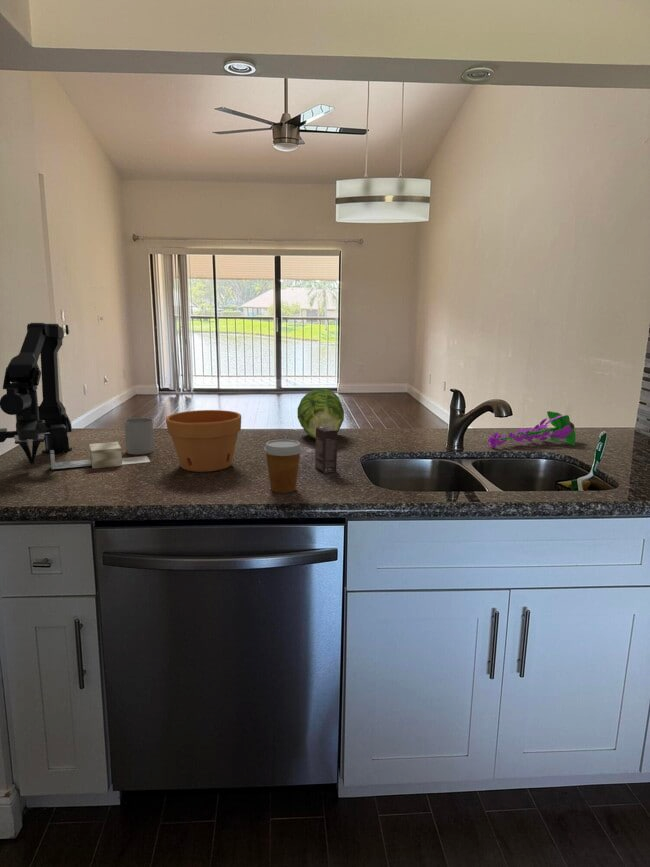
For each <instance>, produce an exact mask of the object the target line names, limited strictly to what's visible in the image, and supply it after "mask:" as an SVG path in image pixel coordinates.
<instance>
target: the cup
mask: <svg viewBox="0 0 650 867" xmlns="http://www.w3.org/2000/svg"><path fill="white" fill-rule="evenodd" d="M153 423H154V420H153V418H150V417H133V418H132V417H131V418H128V419H125V421H124V429H125V431H124V432H125V448H126V454H129V455H146V454H151V453H153V452H155V441H154V424H153Z"/></svg>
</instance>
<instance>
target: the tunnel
mask: <svg viewBox="0 0 650 867" xmlns="http://www.w3.org/2000/svg"><path fill="white" fill-rule="evenodd" d="M88 447H89V460H90V459H92V466H91V468H92V469H101V468H102V469H103V468H112V467H121V466H122V467H123V465H122V458H123V457H122V456H123V455H122V447H121V445H120V443H119V442H118V441H111V442H109V441H108V442H99V443H98V442H96V443H89V444H88Z"/></svg>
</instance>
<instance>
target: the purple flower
mask: <svg viewBox="0 0 650 867" xmlns="http://www.w3.org/2000/svg"><path fill="white" fill-rule="evenodd" d="M546 412H547V417H546V418H544V419H542V420H541V421H540V422H539V424H536V425H535V426H534V427H529V429H528V428H519V429H518V430H517V431H516V432H515V433H516V435H515V433H514V432H513V431H511V432H508V433H507V434H505V435H501V434H500V433H499V432H495V433H493V434H491V435H490V437H489V438H487V443H488V444H489V445H490V447H491V448H493V449H494V448H496V447H497V446H501V445H503V444H505V443H507V441H508V440H510V441H509V442H510V443H512V442H513V443H514V442H517V443H526V440H527V441H528V442H529V443H533V441H534V440H533V439H537V440H538V439H539V441H546V440H547V439H548V437H550V438H549V439H550V440H551V441H555V442H557V441H558V442H559V441H561V440H565V443H567V444H569V445H572V446H574V447H575V445H576V430H575V428H576V427H575V424H574V423H573V422H571V420H570V419H571V418H570V415H568V414H565V415H562V414H561V413H559V412H556V411H551V410H549V411H546ZM548 419H549V420H548ZM545 422H546V423H545ZM549 424H551V425H552V426H553V428H548V425H549ZM543 429H544V430H543ZM550 433H551V434H550ZM506 435H508V436H506ZM512 439H513V440H512Z"/></svg>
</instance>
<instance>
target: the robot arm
mask: <svg viewBox="0 0 650 867" xmlns="http://www.w3.org/2000/svg"><path fill="white" fill-rule="evenodd" d="M26 325H27V326H26V331H27V332H26V334H25V337H24V339H23V343H22V345H21V348H20V351H19V353H18V355H17V354H16V356H13V357H12V358H11V359H10V361H9V363H8V364H7V367H6V368H5V372H4V373H5V374H4V378H3V384H2V389H3V390H6V393H5V394H3V395H2V396H1V398H0V409H1V411H3V413H5V414H7V415H9V416H15V420H16V421H15V430H9V431H8V428H6V427H4V428H0V443H4V442H5V441H6V440H7V439H14V444H15V445H19V446H20V447H21V448H22V450H23V451H24V453H25V456H26V458H27V459H28V462H29V463H30V465H34V464H35V460H36V456H37V452H38V449H39V446H40V445H41V443H44V447H45V449H42V450H41V452H42V453H47V454H50V450H54V455H55V454H61V453H64V452H68V451H72V450H73V448H72V447H70V444H69V436H68V433H72V432H73V428H72V422H71V420H70V418H69V415H68V414H67V410H66V407H65V406H64V404H63V403H62V402H61V400H60V388H59V387H60V385H59V366H58V365H59V364H58V352H59V350H60V349H61V347H62V346H63V339H64V338H65V332H64V328H63V327H62V326H60V324H59V323H45V322H30V323H27V324H26ZM39 358H40V367H39V365H38V361H39ZM40 380H41V386H42V387H41V388H42V402H40V404H39V401H38V400H39V399H38V386H39V383H40ZM29 440H32V445H31V446H32V447H31V449H30V444H29Z"/></svg>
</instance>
